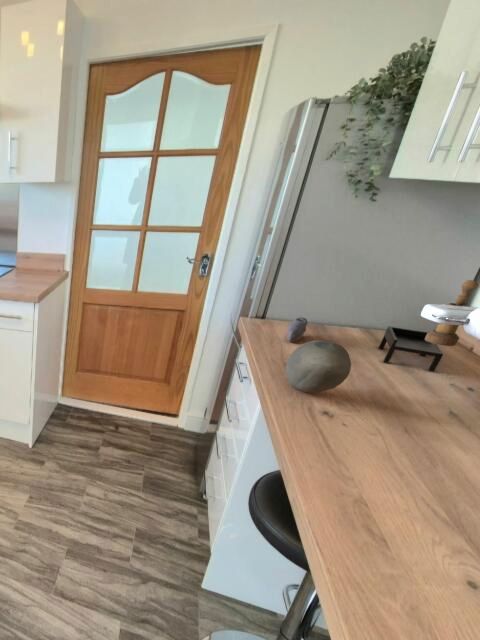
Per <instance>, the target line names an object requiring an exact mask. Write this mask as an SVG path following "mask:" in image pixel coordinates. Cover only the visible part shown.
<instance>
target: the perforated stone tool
mask: <svg viewBox="0 0 480 640" xmlns="http://www.w3.org/2000/svg"><path fill="white" fill-rule="evenodd" d="M307 325H308V320H307V318H305V317H303V316H298V317H296V318H294V320H292V321H291V322H290V324H289V325H288V327H287V331H286V339H287V341H288V342H291V343H294V342H297V341H298V340H300V339H301V338H302V337H303V335H304V334H305V332H306V331H307Z"/></svg>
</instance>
